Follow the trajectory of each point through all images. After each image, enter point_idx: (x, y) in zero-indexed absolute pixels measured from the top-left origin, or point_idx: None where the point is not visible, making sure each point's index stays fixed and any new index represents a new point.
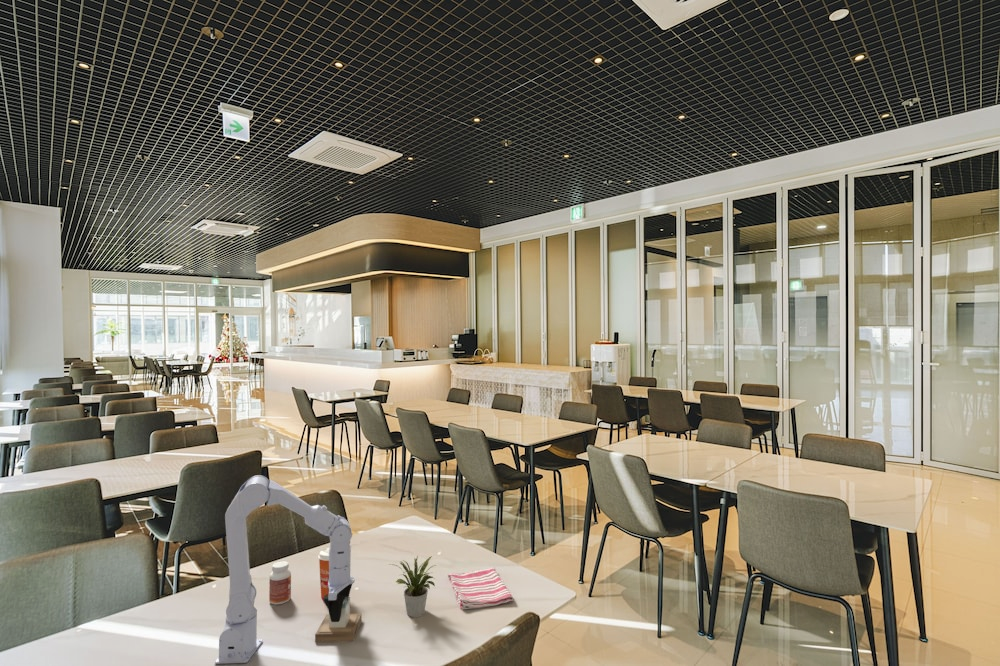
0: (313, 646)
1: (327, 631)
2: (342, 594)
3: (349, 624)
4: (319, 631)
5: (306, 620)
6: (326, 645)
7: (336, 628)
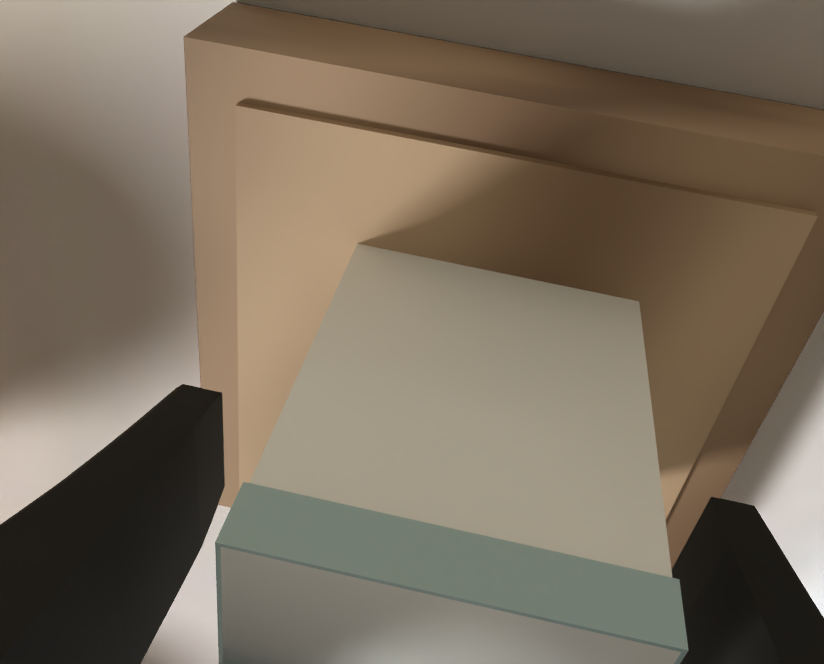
0: None
1: None
2: (102, 653)
3: (557, 242)
4: None
5: (208, 576)
6: (787, 435)
7: None
